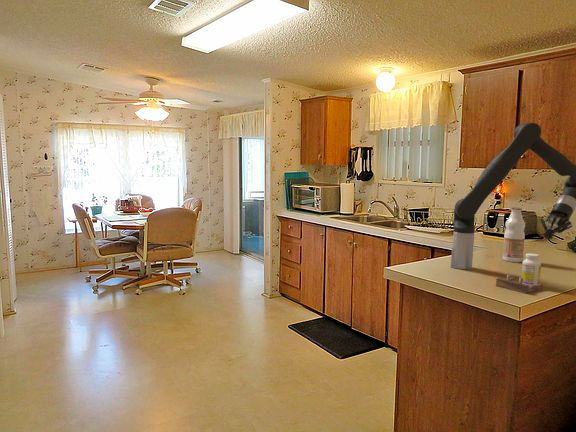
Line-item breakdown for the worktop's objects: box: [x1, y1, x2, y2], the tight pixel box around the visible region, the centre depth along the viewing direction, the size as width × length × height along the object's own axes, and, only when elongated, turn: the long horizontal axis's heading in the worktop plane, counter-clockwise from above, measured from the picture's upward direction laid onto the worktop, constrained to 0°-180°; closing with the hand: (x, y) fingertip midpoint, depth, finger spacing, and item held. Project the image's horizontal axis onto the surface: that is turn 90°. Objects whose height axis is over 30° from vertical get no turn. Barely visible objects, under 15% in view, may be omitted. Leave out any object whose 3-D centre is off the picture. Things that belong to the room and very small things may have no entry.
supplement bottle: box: [520, 253, 542, 286], centre depth 173 cm, size 7×7×13 cm
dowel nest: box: [495, 274, 543, 294], centre depth 169 cm, size 12×12×5 cm
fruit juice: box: [502, 206, 526, 263], centre depth 218 cm, size 9×9×28 cm
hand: (547, 238), depth 177 cm, fingers closed
